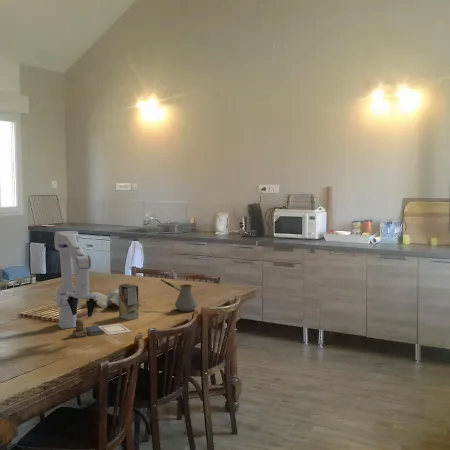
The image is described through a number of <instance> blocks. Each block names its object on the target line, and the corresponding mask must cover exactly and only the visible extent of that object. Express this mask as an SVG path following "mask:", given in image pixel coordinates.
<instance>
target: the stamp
mask: <svg viewBox="0 0 450 450" xmlns="http://www.w3.org/2000/svg"><path fill="white" fill-rule="evenodd" d="M72 334H73V335H74V337H75V338H77V337H78V338H85V337H87V335H88V333H87V331H86V330H85V329H84V319H76V327H75V328H73V329H72Z"/></svg>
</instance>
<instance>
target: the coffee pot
mask: <svg viewBox="0 0 450 450" xmlns="http://www.w3.org/2000/svg"><path fill="white" fill-rule="evenodd" d="M162 282H163V283H164V284H166V285H167V286H170V287H172V288H174V289H175V290H177V291H178V292H179V293H178V297H177V299H176V301H175V304H174V307H175V308H176V309H177V310H178V311H180V312H192V311H194V309H196V308H197V305H198V304H197V301H196V298H195V297H194V293H193V291H192V287H193V285H192V284H180V285H179V287H180V288H178V287H177V286H175V285H173V284H172V283H170V282H169V281H166V280H164V279H162V278H161V279H160V280H159V283H162Z"/></svg>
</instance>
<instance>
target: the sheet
mask: <svg viewBox="0 0 450 450" xmlns="http://www.w3.org/2000/svg"><path fill="white" fill-rule="evenodd" d="M97 326H98V327H99V328H101V329H102V330H103V331H104V334H106V335H108V336H111V335H112V336H113V335H117V334H126V333H132V330H129V328H127V327H126V326H124V325H122V324H121V323H113V324H112V323H111V324H105V325H97Z"/></svg>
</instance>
